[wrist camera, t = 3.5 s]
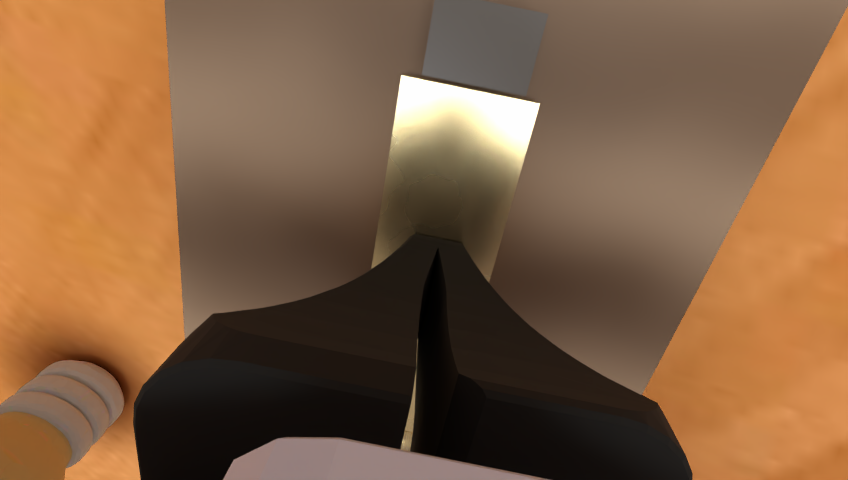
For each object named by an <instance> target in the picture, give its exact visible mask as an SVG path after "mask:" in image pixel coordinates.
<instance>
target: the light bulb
mask: <svg viewBox="0 0 848 480" xmlns="http://www.w3.org/2000/svg"><path fill="white" fill-rule="evenodd" d="M123 407H124V397H123V393H122V390H121V388H120V386H119V384H118V382H117V381H116V379H115V378H114V377H113V376H112V375H111V374H110V373H109V372H108V371H106V370H105V369H103V368H101V367H99V366H97V365H95V364H93V363H89V362H85V361H75V360H62V361H58V362H55V363H53V364H51V365H49V366H48V367H46V368H45V369H44V370H42V371H41V372H40V373H39V374H38V375H37V376H36V378H34V379H32V380H31V381H29V382H28V383H26V384H25V385H24V386H23V387H21V388H20V389H19V390H18V391H17V392H16V394H15V395H13V396H11V397H9V398H8V399H7V400H5V401H4V402H3V403H2V404H0V480H64V477H65V469H66V468H68V467H71V466H73V465H74V464H76V463H77V462H79V461H80V460H81V459H82V457H83V456H84V455H85V454H86V453H87V452H88V451H89V449H90V447H91V445H93V444H95V443H96V442H97V441H98V440H99V439H100V437H101V436H102V435H103V434H104V433H105V431H106V429H107V428H108V427H110V426H111V425H112V424H113V423H114V422H115V421H116V419H117V418H118V417H119V416H120V415H121V413H122V411H123Z"/></svg>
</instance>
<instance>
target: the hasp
mask: <svg viewBox="0 0 848 480" xmlns="http://www.w3.org/2000/svg"><path fill="white" fill-rule="evenodd" d="M539 105H540V103H538V102H537V101H536V100H531V99H526V98H522V97H517V96H512V95H507V94H502V93H497V92H492V91H487V90H483V89H478V88H473V87H468V86H463V85H458V84H453V83H448V82H443V81H439V80H434V79H429V78H424V77H419V76H414V75H409V74H403V75H401V81H400V87H399V94H398V100H397V107H396V113H395V119H394V126H393V132H392V139H391V145H390V152H389V158H388V164H387V171H386V177H385V184H384V190H383V197H382V203H381V209H380V216H379V222H378V229H377V235H376V242H375V248H374V254H373V261H372V267H371V269H372V268H374V267H375V266H377V265H378V264H379V263H381V262H382V261H384V260H385V259H386V258H387V257H388V256H390V255H391V254H392V253H393V252H395V251H396V250H397V249H398V248H399V247H400V246H401V245H402V244H403V243H404V242H405V241H406V240H407V239H408V238H409V237H410V236H412V235H413V234H418V235H423V236H428V237H433V238H437V239H442V240H447V241H452V242H457V243H462V244H463V246H464V247H465V249H466V250H467V252H468V253H469V255H470V257H471V258H472V260H473V261H474V263H475V264H476V266H477V267H478V269H479V270H480V272H481V273H482V274H483V276H484V277H485V278H486V280H487V281H488V282H489V281H490V278H491V274H492V271H493V267H494V264H495V260H496V257H497V253H498V250H499V246H500V243H501V239H502V235H503V232H504V228H505V225H506V221H507V218H508V214H509V211H510V207H511V204H512V200H513V197H514V193H515V190H516V186H517V183H518V179H519V176H520V172H521V169H522V165H523V162H524V158H525V155H526V151H527V148H528V144H529V141H530V137H531V134H532V130H533V127H534V123H535V120H536V116H537V112H538V109H539ZM417 345H418V339H417ZM416 367H417V358H416ZM415 390H416V374H415V381H414V388H413V395H412V401H411V406H410V410H409V415H408V419H407V423H406V427H405V432H404V436H403V440H402V445H401V449H400V450H405V451H410V447H411V441H412V434H413V425H414V413H415Z"/></svg>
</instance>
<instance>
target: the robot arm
mask: <svg viewBox="0 0 848 480" xmlns="http://www.w3.org/2000/svg"><path fill="white" fill-rule="evenodd" d="M417 339H418V345H417ZM416 358H417V367H416ZM415 374H416V390H415V413H414V425H413V434H412V441H411V447H410V451H405V450H400V449H401V445H402V440H403V436H404V432H405V427H406V423H407V419H408V415H409V410H410V406H411V401H412V395H413V388H414V381H415ZM133 425H134V433H135V440H136V447H137V455H138V462H139V469H140V477H141V480H692V471H691V468H690V466H689V463H688V461H687V458H686V455H685V453H684V451H683V449H682V448H681V446H680V444H679V442H678V440H677V438H676V436H675V434H674V432H673V430H672V429H671V427H670V425H669V423H668V421H667V419H666V417H665V415H664V414H663V412H662V410H661V408H660V407H659V405H658V403H656V402H654V401H652V400H650V399H648V398H646V397H644V396H642V395H640V394H638V393H636V392H634V391H632V390H630V389H628V388H626V387H624V386H623V385H621V384H619V383H617V382H615V381H613V380H611V379H609V378H607V377H605V376H603V375H601V374H600V373H598V372H596V371H595V370H593V369H591V368H590V367H588V366H586V365H585V364H583V363H581V362H580V361H578V360H576V359H575V358H573V357H572V356H570V355H569V354H567V353H566V352H564V351H563V350H561V349H560V348H558V347H557V346H556V345H554V344H553V343H552V342H550V341H549V340H548V339H546V338H545V337H544V336H542V335H541V334H540V333H538V332H537V331H536V330H535V329H534V328H532V327H531V326H530V325H529V324H528V323H527V322H526V321H524V320H523V319H522V318H521V317H520V316H519V315H518V314H517V313H516V312H515V311H514V310H513V309H512V308H511V307H510V306H509V305H508V304H507V303H506V302H505V301H504V300H503V299H502V298H501V297H500V295H499V294H498V293H497V292H496V291H495V290H494V289H493V287H492V286H491V285H490V283H489V282H488V281H487V280H486V278H485V277H484V276H483V274H482V273H481V272H480V270H479V269H478V267H477V266H476V264H475V263H474V261H473V260H472V258H471V257H470V255H469V253H468V252H467V250H466V249H465V247H464V246H463V244H462V243H457V242H452V241H447V240H442V239H437V238H433V237H428V236H423V235H418V234H413V235H412V236H410V237H409V238H408V239H407V240H406V241H405V242H404V243H403V244H402V245H401V246H400V247H399V248H398V249H397V250H396V251H395V252H393V253H392V254H391V255H390V256H388V257H387V258H386V259H385V260H384V261H382V262H381V263H379V264H378V265H377V266H375V267H374V268H372V269H371V270H369V271H368V272H366V273H365V274H363V275H361V276H360V277H358V278H356V279H354V280H352V281H350V282H348V283H346V284H344V285H341V286H339V287H337V288H334V289H331V290H328V291H325V292H322V293H320V294H317V295H314V296H311V297H308V298H304V299H301V300H297V301H293V302H289V303H284V304H279V305H275V306H269V307H264V308H257V309H249V310H241V311H233V312H225V313H213V314H212V315H211V316H210V317H209V318H207V319H206V320H205V321H204V322H203V323H202V324H201V325H200V326H199V327H197V328H196V329H195V330H194V331H193V332H192V333H191V334H190V335H189V336H188V337H187V338H186V339H185V340H184V341H183V342H182V343H181V344H180V345H179V346H178V347H177V349H176V350H175V351H174V352H173V353H172V354H171V355H170V356H169V357H168V358H167V360H166V361H165V362H164V363H163V364H162V365H161V366H160V367H159V368H158V370H157V371H156V372H155V373H154V374H153V375H152V376H151V377H150V378H149V379H148V381H147V382H146V383H145V384H144V385H143V386H142V388H141V391H140V393H139V395H138V397H137V399H136V401H135V403H134V418H133Z"/></svg>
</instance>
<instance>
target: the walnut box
mask: <svg viewBox="0 0 848 480" xmlns="http://www.w3.org/2000/svg"><path fill="white" fill-rule="evenodd" d="M847 6H848V0H165V14H166V31H167V47H168V64H169V81H170V98H171V114H172V131H173V148H174V165H175V181H176V198H177V215H178V232H179V248H180V265H181V282H182V299H183V315H184V332H185V339H186V338H187V337H188V336H189V335H190V334H191V333H192V332H193V331H194V330H195V329H196V328H197V327H199V326H200V325H201V324H202V323H203V322H204V321H205V320H206V319H207V318H209V317H210V316H211V315H212V314H213V313H225V312H233V311H241V310H249V309H257V308H264V307H269V306H275V305H279V304H284V303H289V302H293V301H297V300H301V299H304V298H308V297H311V296H314V295H317V294H320V293H322V292H325V291H328V290H331V289H334V288H337V287H339V286H341V285H344V284H346V283H348V282H350V281H352V280H354V279H356V278H358V277H360V276H361V275H363V274H365V273H366V272H368V271H369V270H371V267H372V261H373V254H374V248H375V242H376V235H377V229H378V222H379V216H380V209H381V203H382V197H383V190H384V184H385V177H386V171H387V164H388V158H389V152H390V145H391V139H392V132H393V126H394V119H395V113H396V107H397V100H398V94H399V87H400V81H401V75H403V74H409V75H414V76H419V77H424V78H429V79H434V80H439V81H443V82H448V83H453V84H458V85H463V86H468V87H473V88H478V89H483V90H487V91H492V92H497V93H502V94H507V95H512V96H517V97H522V98H526V99H531V100H536V101H537V102H538V103H540V105H539V109H538V112H537V116H536V120H535V123H534V127H533V130H532V134H531V137H530V141H529V144H528V148H527V151H526V155H525V158H524V162H523V165H522V169H521V172H520V176H519V179H518V183H517V186H516V190H515V193H514V197H513V200H512V204H511V207H510V211H509V214H508V218H507V221H506V225H505V228H504V232H503V235H502V239H501V243H500V246H499V250H498V253H497V257H496V260H495V264H494V267H493V271H492V274H491V278H490V281H489V283H490V285H491V286H492V287H493V289H494V290H495V291H496V292H497V293H498V294H499V295H500V297H501V298H502V299H503V300H504V301H505V302H506V303H507V304H508V305H509V306H510V307H511V308H512V309H513V310H514V311H515V312H516V313H517V314H518V315H519V316H520V317H521V318H522V319H523V320H524V321H526V322H527V323H528V324H529V325H530V326H531V327H532V328H534V329H535V330H536V331H537V332H538V333H540V334H541V335H542V336H544V337H545V338H546V339H548V340H549V341H550V342H552V343H553V344H554V345H556V346H557V347H558V348H560V349H561V350H563V351H564V352H566V353H567V354H569V355H570V356H572V357H573V358H575V359H576V360H578V361H580V362H581V363H583V364H585V365H586V366H588V367H590V368H591V369H593V370H595V371H596V372H598V373H600V374H601V375H603V376H605V377H607V378H609V379H611V380H613V381H615V382H617V383H619V384H621V385H623V386H624V387H626V388H628V389H630V390H632V391H634V392H636V393H638V394H640V395H642V394H643V392H644V390H645V388H646V386H647V384H648V382H649V380H650V378H651V377H652V375H653V373H654V371H655V369H656V367H657V365H658V363H659V361H660V360H661V358H662V356H663V354H664V352H665V350H666V348H667V346H668V344H669V343H670V341H671V339H672V337H673V335H674V333H675V331H676V329H677V327H678V326H679V324H680V322H681V320H682V318H683V316H684V314H685V312H686V310H687V309H688V307H689V305H690V303H691V301H692V299H693V297H694V295H695V293H696V292H697V290H698V288H699V286H700V284H701V282H702V280H703V278H704V276H705V275H706V273H707V271H708V269H709V267H710V265H711V263H712V261H713V259H714V258H715V256H716V254H717V252H718V250H719V248H720V246H721V244H722V242H723V241H724V239H725V237H726V235H727V233H728V231H729V229H730V227H731V225H732V224H733V222H734V220H735V218H736V216H737V214H738V212H739V210H740V208H741V207H742V205H743V203H744V201H745V199H746V197H747V195H748V193H749V191H750V190H751V188H752V186H753V184H754V182H755V180H756V178H757V176H758V174H759V173H760V171H761V169H762V167H763V165H764V163H765V161H766V159H767V157H768V156H769V154H770V152H771V150H772V148H773V146H774V144H775V142H776V140H777V139H778V137H779V135H780V133H781V131H782V129H783V127H784V125H785V123H786V122H787V120H788V118H789V116H790V114H791V112H792V110H793V108H794V106H795V105H796V103H797V101H798V99H799V97H800V95H801V93H802V91H803V89H804V88H805V86H806V84H807V82H808V80H809V78H810V76H811V74H812V72H813V71H814V69H815V67H816V65H817V63H818V61H819V59H820V57H821V55H822V54H823V52H824V50H825V48H826V46H827V44H828V42H829V40H830V38H831V37H832V35H833V33H834V31H835V29H836V27H837V25H838V23H839V22H840V20H841V18H842V16H843V14H844V12H845V10H846V8H847Z"/></svg>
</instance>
